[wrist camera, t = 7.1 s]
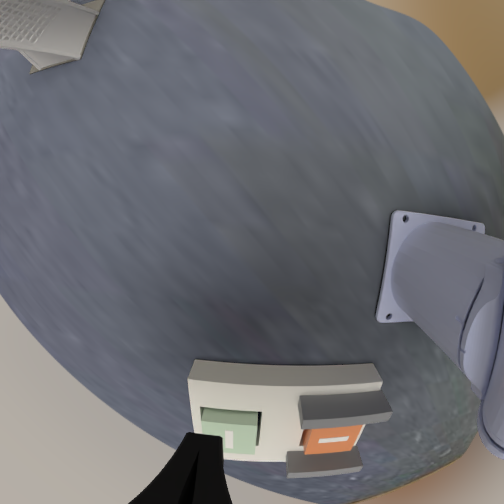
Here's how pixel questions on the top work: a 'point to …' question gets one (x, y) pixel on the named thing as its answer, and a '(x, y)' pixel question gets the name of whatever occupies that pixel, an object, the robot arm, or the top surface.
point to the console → (292, 408)
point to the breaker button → (329, 439)
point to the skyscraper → (47, 29)
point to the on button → (232, 428)
